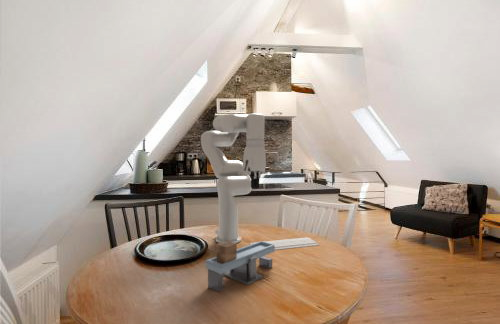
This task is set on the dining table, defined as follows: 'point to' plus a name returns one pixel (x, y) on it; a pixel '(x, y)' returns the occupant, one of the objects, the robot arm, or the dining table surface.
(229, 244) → the rider
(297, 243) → the baseboard molding
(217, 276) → the stand
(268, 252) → the beam
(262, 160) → the robot arm
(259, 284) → the dining table surface
